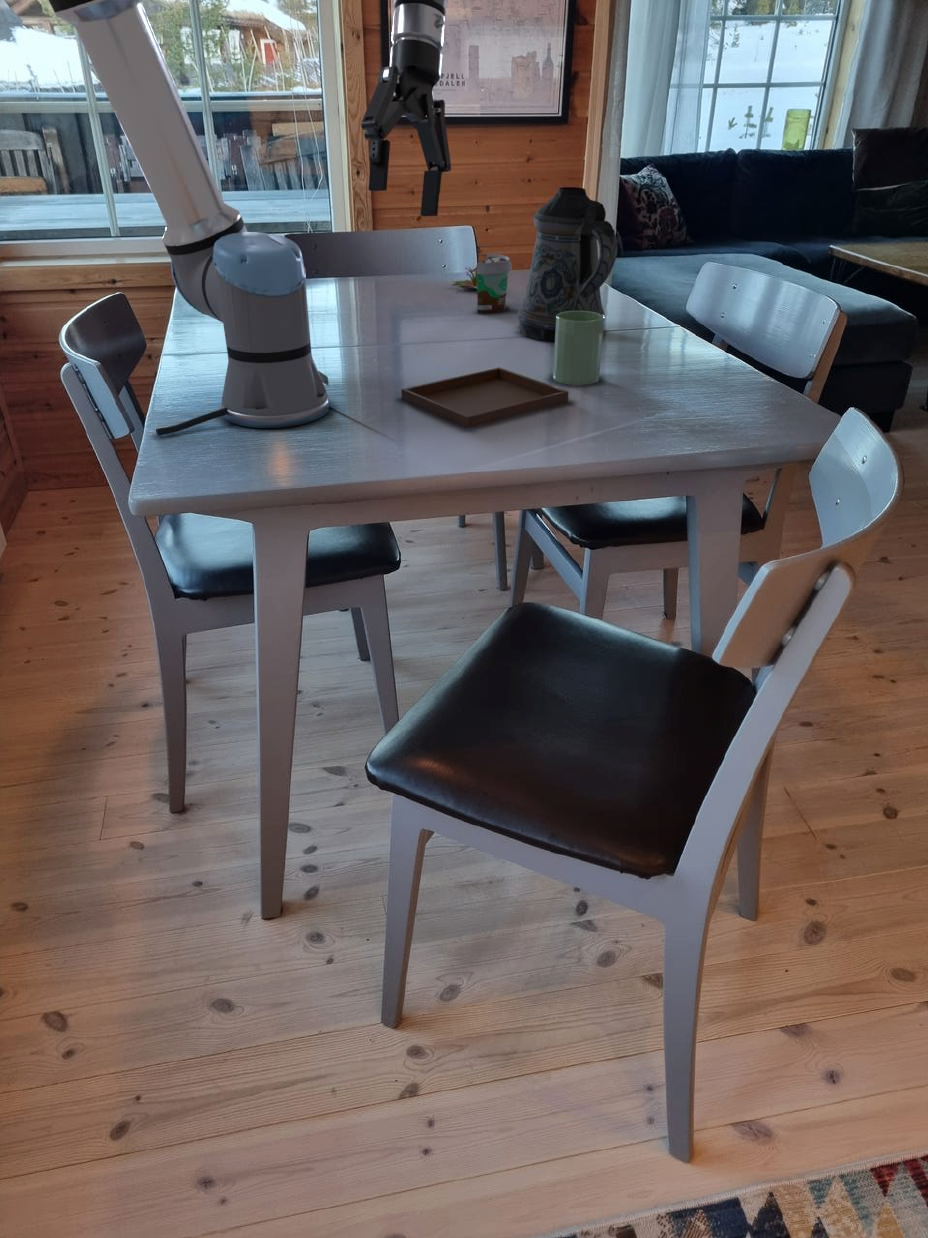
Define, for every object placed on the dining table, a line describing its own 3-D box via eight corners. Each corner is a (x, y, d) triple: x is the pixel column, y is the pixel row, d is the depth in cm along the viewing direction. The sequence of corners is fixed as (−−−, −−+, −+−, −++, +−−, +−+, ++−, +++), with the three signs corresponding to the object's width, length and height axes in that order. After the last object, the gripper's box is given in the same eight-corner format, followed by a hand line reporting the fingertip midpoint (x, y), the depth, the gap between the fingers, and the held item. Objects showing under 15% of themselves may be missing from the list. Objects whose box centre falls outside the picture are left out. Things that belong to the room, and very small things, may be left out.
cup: (575, 389, 137) (579, 323, 132) (543, 378, 142) (546, 314, 137) (608, 380, 141) (614, 316, 136) (576, 370, 146) (580, 308, 140)
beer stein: (536, 318, 177) (542, 181, 164) (629, 328, 170) (643, 186, 157) (503, 336, 164) (507, 189, 151) (602, 349, 157) (615, 195, 144)
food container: (505, 316, 179) (507, 264, 173) (476, 314, 180) (476, 263, 174) (514, 303, 189) (516, 253, 184) (486, 302, 190) (487, 252, 185)
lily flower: (494, 281, 209) (494, 261, 206) (505, 292, 199) (505, 270, 196) (445, 283, 207) (444, 262, 205) (453, 293, 197) (453, 272, 195)
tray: (467, 429, 121) (467, 417, 120) (401, 400, 132) (401, 388, 131) (567, 403, 131) (568, 391, 130) (499, 378, 142) (499, 367, 141)
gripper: (387, 3, 115) (374, 176, 120) (481, 79, 136) (467, 224, 141) (343, 12, 119) (332, 179, 123) (441, 84, 140) (428, 225, 144)
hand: (404, 203), depth 132 cm, fingers open, 13 cm apart
